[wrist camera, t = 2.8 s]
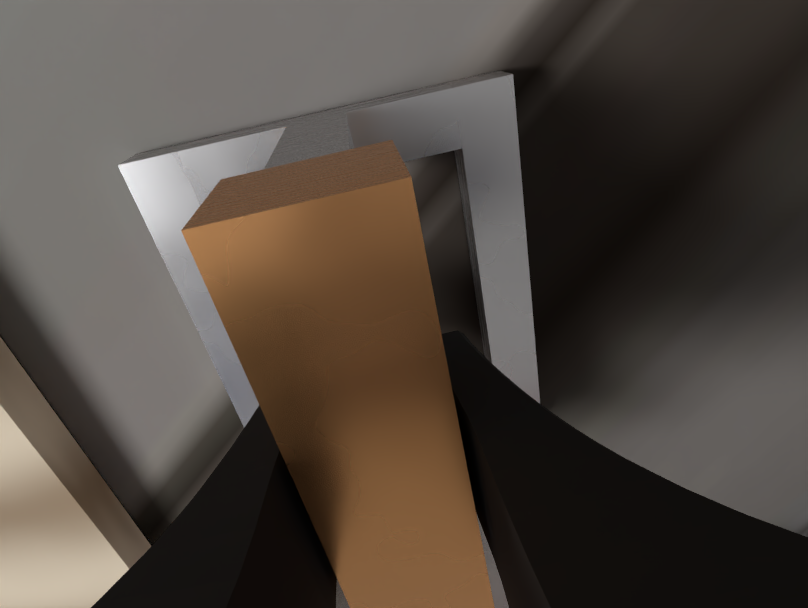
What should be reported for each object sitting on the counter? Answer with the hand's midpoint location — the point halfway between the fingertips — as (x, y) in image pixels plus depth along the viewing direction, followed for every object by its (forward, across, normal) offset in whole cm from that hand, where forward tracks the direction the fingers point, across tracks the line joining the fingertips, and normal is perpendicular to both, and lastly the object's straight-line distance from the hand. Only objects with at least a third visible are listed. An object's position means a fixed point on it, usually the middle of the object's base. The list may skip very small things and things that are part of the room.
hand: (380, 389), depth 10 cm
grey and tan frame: (+3, 0, 0) cm, 3 cm away
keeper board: (+3, +17, +2) cm, 17 cm away
